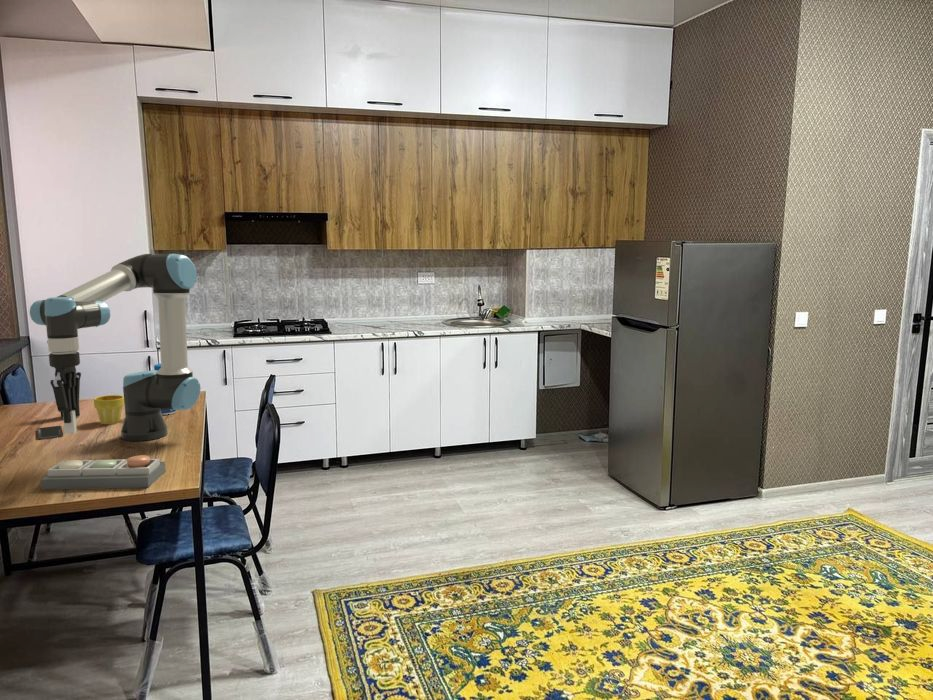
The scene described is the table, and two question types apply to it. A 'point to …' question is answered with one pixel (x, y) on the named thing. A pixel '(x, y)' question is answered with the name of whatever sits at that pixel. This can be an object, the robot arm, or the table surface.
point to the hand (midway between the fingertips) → (70, 432)
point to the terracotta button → (138, 461)
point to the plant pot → (109, 408)
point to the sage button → (105, 464)
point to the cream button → (71, 464)
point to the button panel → (103, 476)
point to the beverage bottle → (164, 411)
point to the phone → (49, 432)
